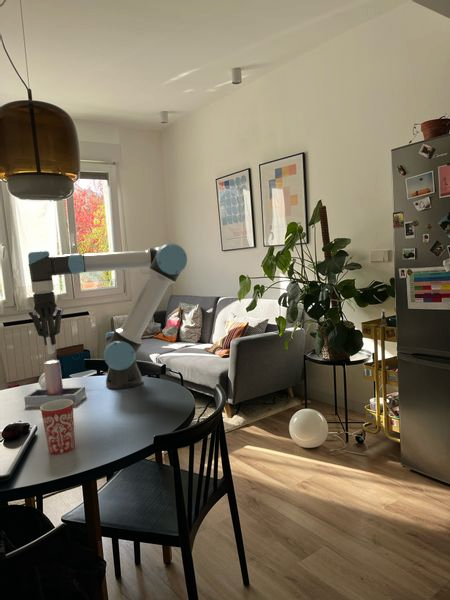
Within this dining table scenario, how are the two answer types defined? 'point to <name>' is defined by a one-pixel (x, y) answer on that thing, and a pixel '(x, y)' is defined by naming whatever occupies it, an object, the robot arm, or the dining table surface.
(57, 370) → the beverage can
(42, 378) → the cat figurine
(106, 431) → the dining table surface
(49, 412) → the mug
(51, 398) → the grey shallow rectangular tray
